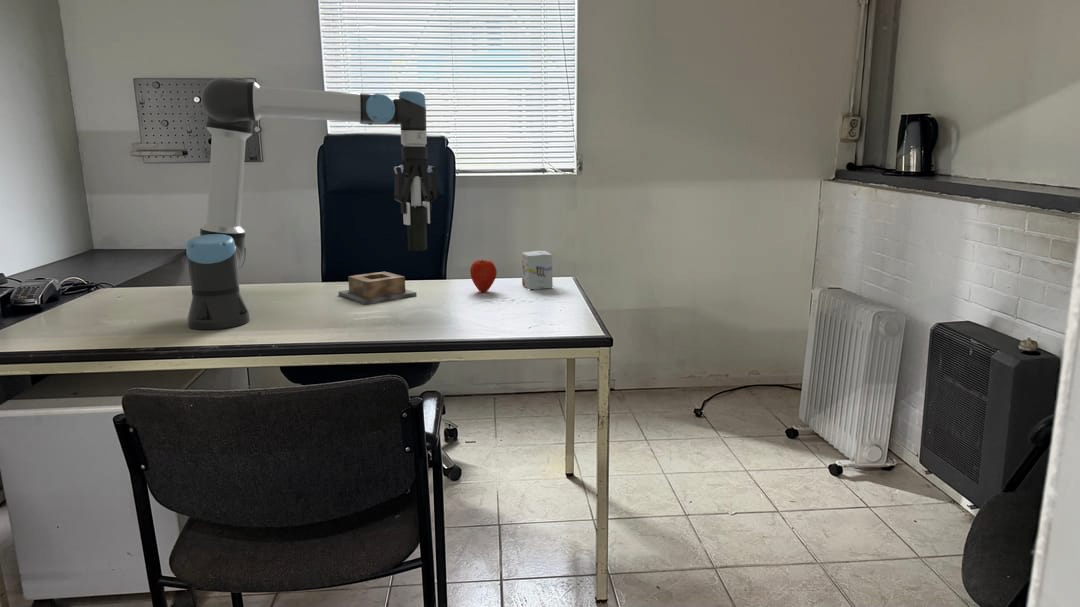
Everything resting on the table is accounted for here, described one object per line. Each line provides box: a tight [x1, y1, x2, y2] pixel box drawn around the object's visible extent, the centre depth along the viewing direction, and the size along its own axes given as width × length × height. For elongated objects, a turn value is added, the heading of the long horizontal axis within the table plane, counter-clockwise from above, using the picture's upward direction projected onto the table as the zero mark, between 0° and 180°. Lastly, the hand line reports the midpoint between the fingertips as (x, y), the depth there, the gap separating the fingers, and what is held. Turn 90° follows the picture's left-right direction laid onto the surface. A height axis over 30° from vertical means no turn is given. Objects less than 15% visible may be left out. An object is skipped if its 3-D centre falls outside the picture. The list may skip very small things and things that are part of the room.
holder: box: [338, 271, 418, 305], centre depth 219 cm, size 18×18×6 cm
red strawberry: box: [469, 258, 498, 293], centre depth 223 cm, size 9×8×11 cm
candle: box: [406, 176, 428, 252], centre depth 206 cm, size 5×5×25 cm
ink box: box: [521, 250, 554, 290], centre depth 230 cm, size 9×9×12 cm
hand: (417, 223), depth 207 cm, fingers closed on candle, 6 cm apart
